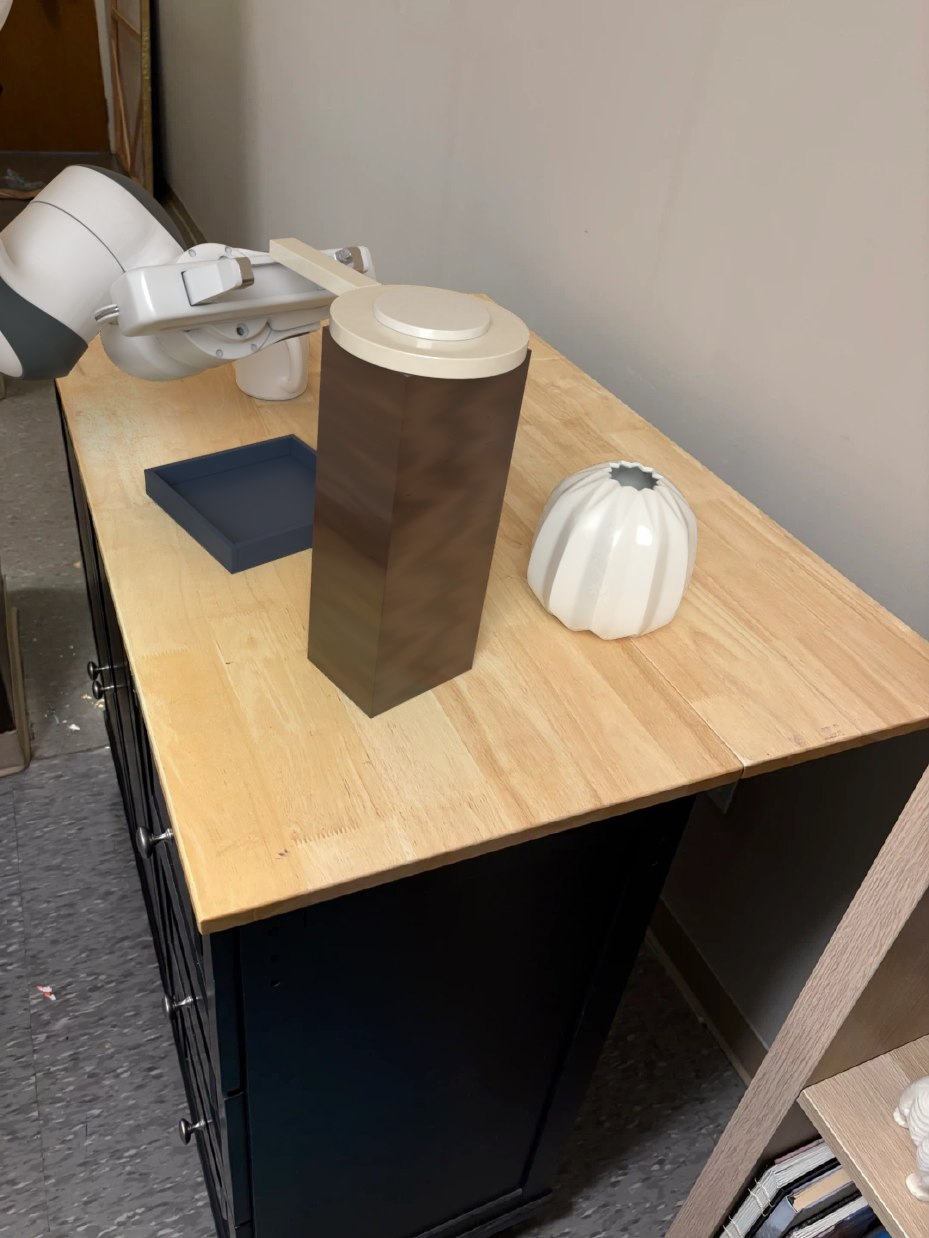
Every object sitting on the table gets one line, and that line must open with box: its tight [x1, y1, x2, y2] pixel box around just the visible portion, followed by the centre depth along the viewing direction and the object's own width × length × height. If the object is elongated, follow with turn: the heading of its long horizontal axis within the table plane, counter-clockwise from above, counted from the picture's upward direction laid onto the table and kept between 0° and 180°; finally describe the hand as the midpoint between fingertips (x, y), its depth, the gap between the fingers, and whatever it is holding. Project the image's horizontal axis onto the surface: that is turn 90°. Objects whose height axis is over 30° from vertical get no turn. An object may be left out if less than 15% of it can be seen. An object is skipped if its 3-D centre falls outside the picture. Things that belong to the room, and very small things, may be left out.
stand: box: [306, 324, 533, 719], centre depth 63 cm, size 10×8×26 cm
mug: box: [234, 333, 311, 402], centre depth 103 cm, size 12×8×10 cm
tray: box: [143, 433, 317, 575], centre depth 85 cm, size 16×15×3 cm
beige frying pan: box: [268, 237, 531, 379], centre depth 57 cm, size 12×22×2 cm, turn 42°
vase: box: [526, 459, 699, 641], centre depth 76 cm, size 14×14×13 cm
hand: (304, 264), depth 62 cm, fingers open, 8 cm apart
